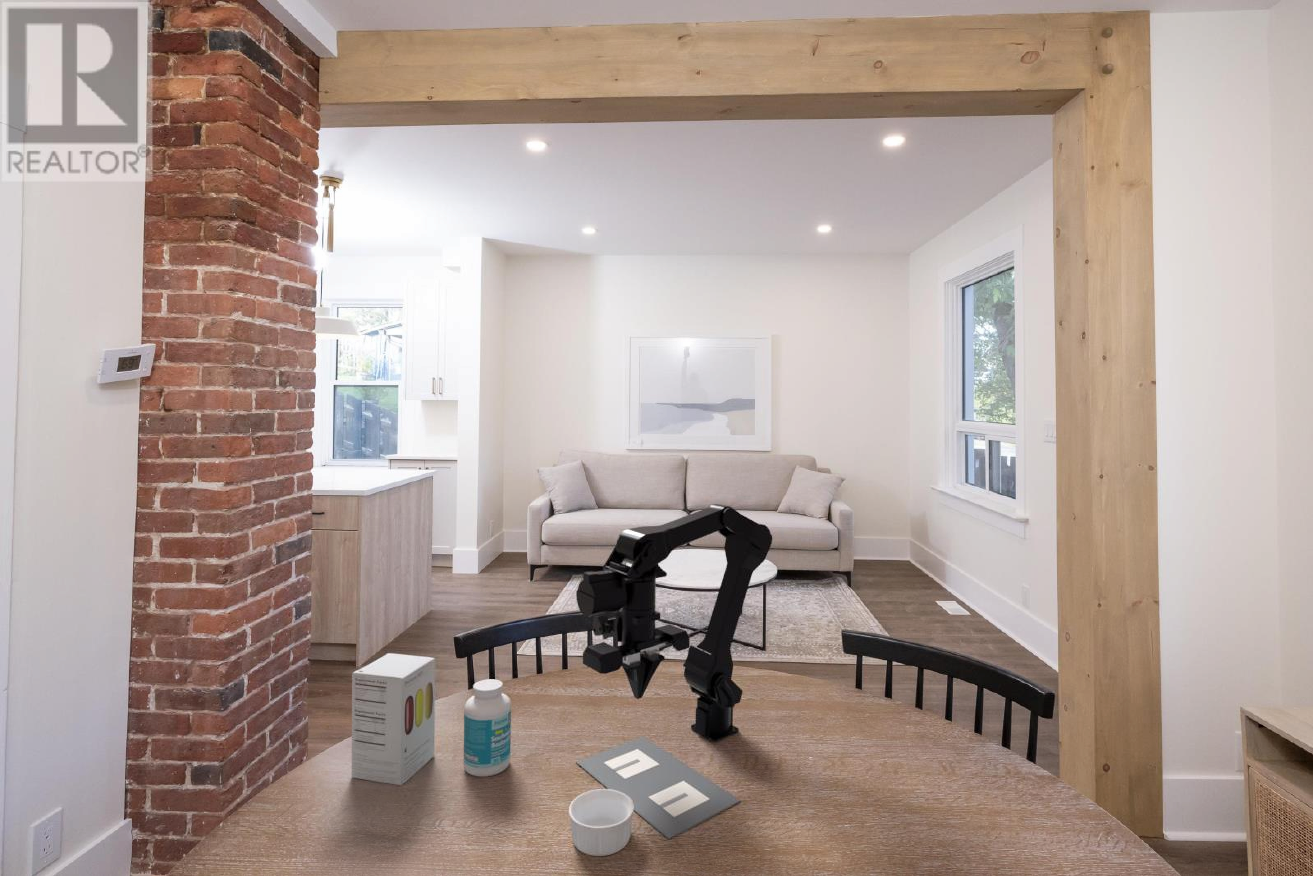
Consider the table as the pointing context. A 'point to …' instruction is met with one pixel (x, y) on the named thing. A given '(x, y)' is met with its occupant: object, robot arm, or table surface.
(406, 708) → the supplement box
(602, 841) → the ramekin
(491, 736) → the pill bottle
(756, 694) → the table surface
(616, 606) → the robot arm
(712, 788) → the slate mat
